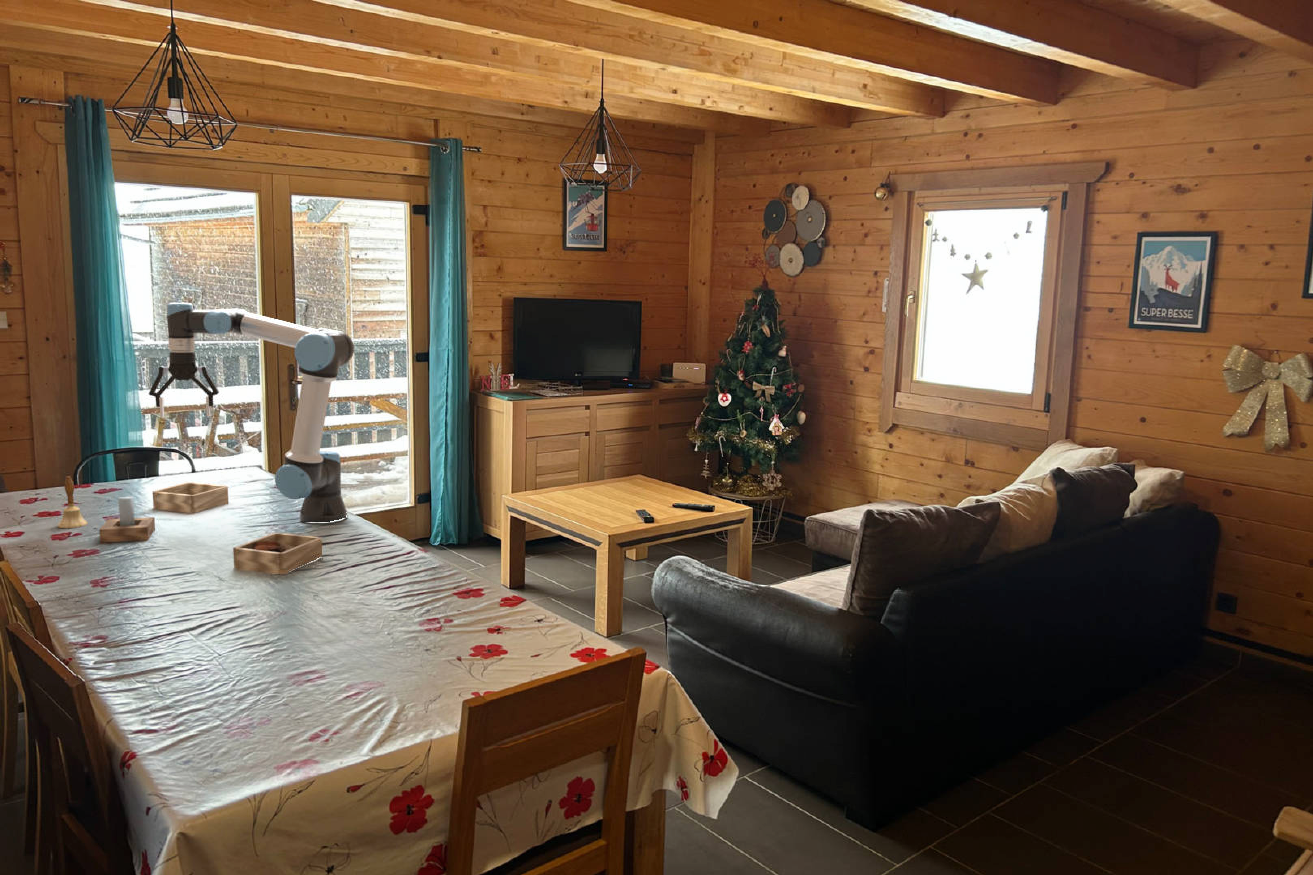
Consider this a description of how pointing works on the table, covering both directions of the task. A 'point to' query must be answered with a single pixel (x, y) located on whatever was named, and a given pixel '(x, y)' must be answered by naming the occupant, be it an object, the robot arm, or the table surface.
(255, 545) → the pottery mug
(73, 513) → the hand bell
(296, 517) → the table surface
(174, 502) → the wooden tray
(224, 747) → the table surface
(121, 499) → the peg
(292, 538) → the open wooden box
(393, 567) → the table surface
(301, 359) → the robot arm
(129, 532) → the socket
